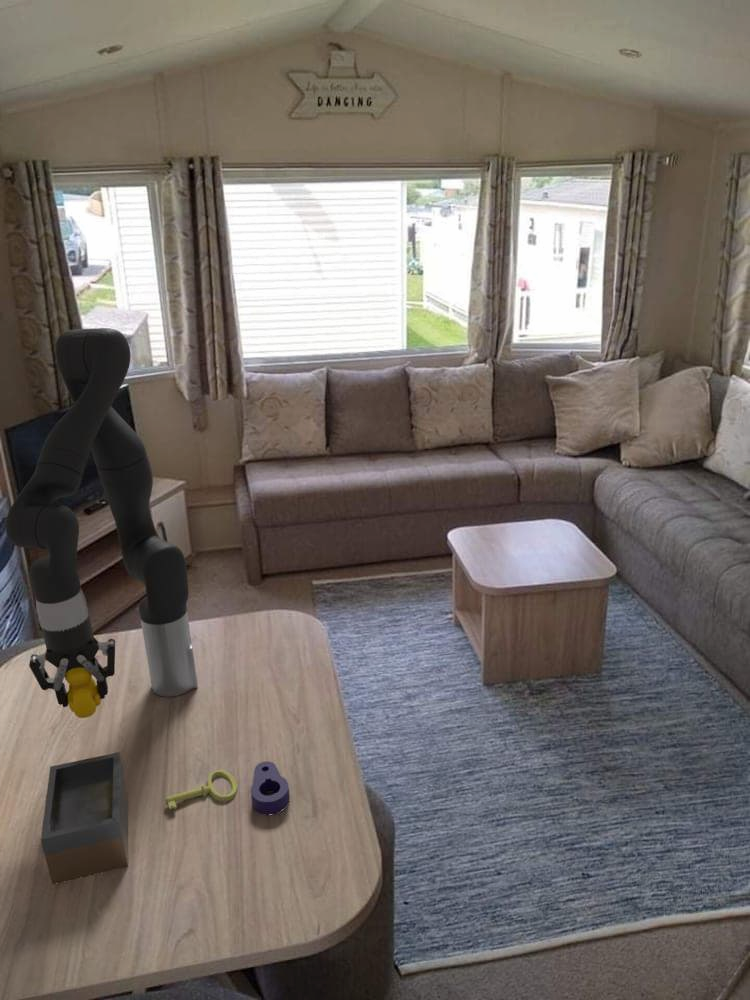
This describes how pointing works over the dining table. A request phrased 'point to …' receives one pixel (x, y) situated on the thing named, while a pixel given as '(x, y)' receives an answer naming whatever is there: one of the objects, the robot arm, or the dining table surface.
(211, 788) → the key
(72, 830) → the gray rectangular tray
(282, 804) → the lever
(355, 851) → the dining table surface
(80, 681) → the duckling
